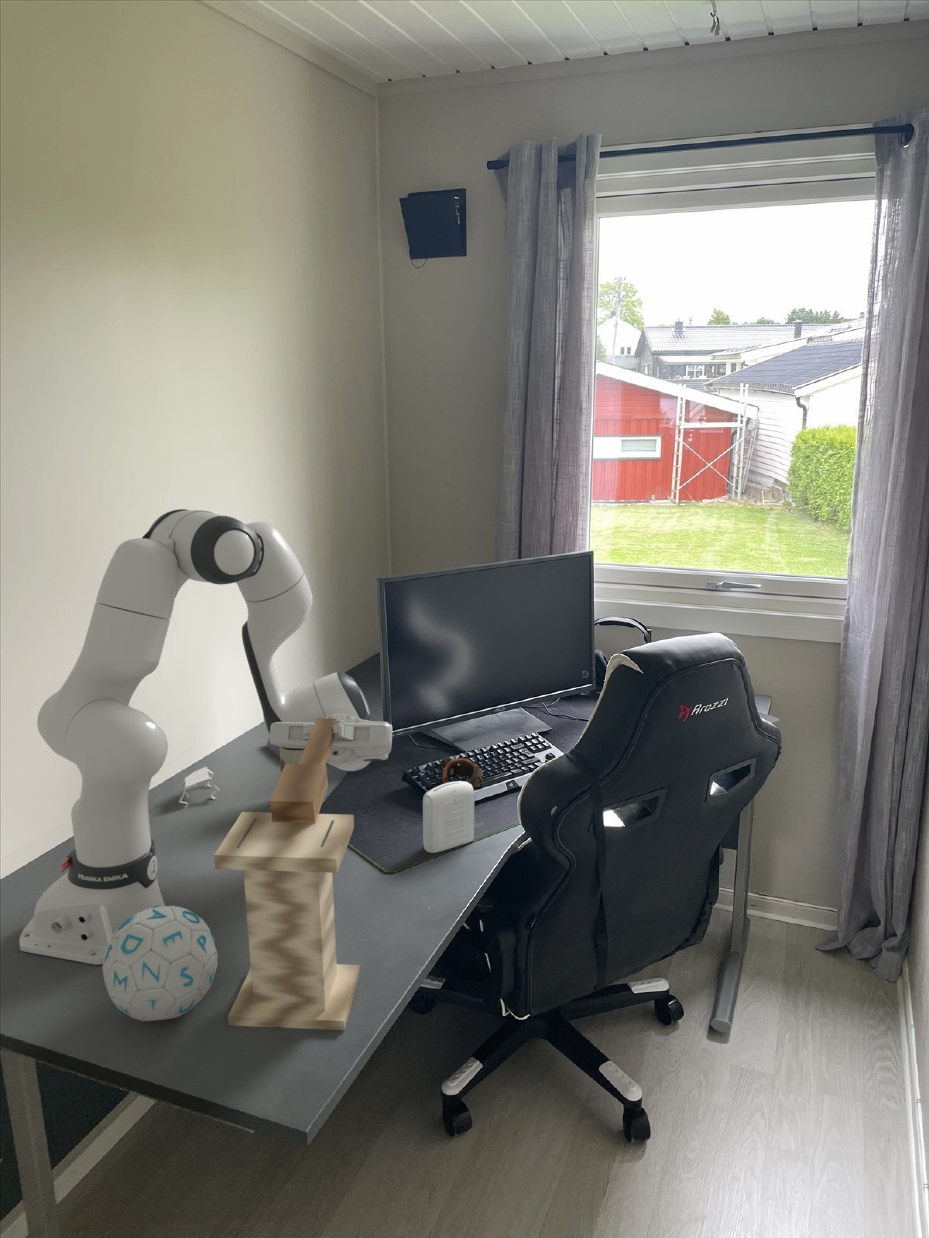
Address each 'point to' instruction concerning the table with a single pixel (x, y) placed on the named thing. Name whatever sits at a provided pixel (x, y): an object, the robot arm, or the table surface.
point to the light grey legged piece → (197, 782)
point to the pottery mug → (461, 770)
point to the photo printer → (448, 816)
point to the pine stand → (290, 921)
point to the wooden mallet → (305, 779)
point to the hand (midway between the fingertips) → (322, 729)
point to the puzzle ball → (160, 963)
